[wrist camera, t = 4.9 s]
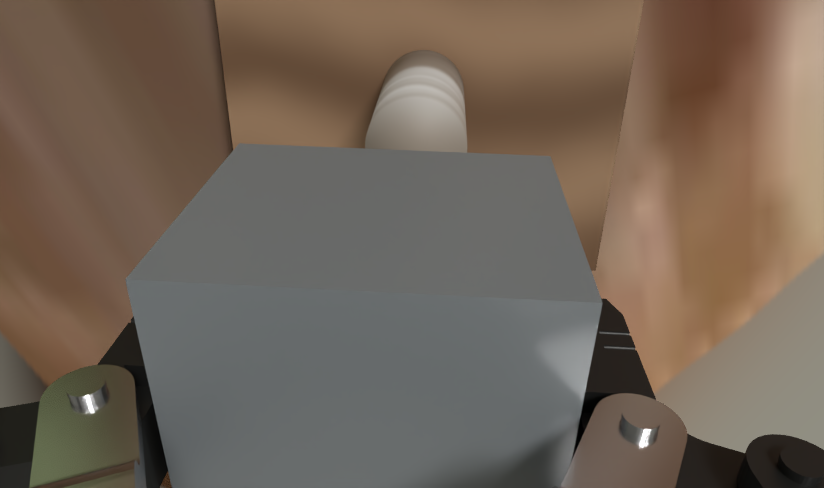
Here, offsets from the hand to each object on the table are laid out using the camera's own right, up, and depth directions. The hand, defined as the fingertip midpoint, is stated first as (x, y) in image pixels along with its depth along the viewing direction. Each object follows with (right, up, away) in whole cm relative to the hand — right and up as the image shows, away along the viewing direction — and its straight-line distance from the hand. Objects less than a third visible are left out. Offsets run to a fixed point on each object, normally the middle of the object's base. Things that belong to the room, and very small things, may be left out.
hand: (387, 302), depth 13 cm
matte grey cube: (0, 0, +1) cm, 1 cm away
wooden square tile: (+1, +8, +14) cm, 16 cm away
